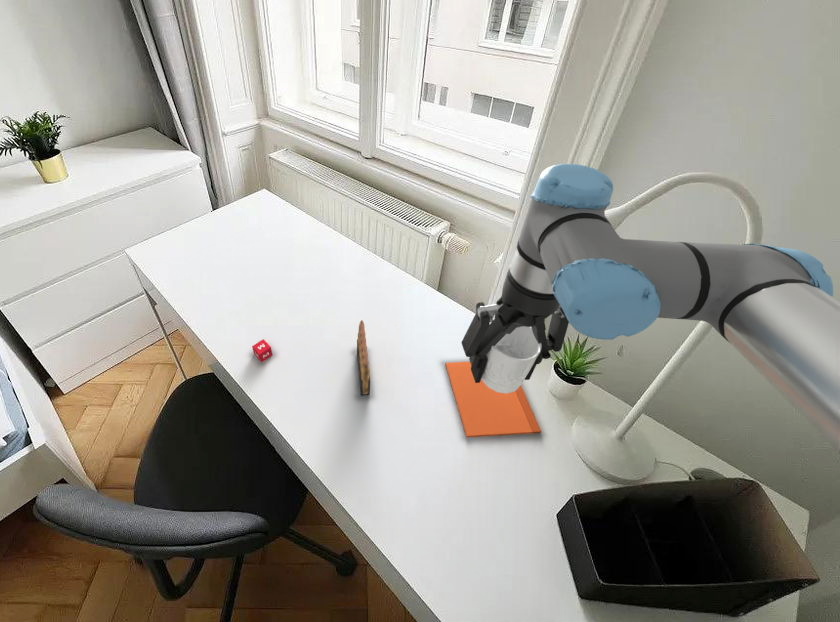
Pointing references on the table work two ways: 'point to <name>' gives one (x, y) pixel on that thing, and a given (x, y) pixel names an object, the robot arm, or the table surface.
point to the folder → (489, 406)
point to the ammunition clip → (363, 361)
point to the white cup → (511, 360)
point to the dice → (262, 350)
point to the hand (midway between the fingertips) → (499, 374)
